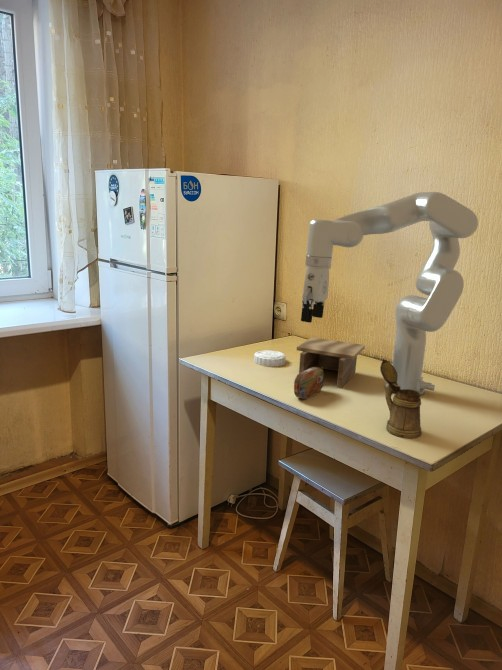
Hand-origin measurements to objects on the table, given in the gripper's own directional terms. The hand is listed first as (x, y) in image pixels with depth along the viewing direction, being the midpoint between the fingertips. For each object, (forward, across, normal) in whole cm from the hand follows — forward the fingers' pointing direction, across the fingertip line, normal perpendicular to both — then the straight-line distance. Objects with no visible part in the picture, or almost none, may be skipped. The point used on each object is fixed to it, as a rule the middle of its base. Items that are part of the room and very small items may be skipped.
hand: (311, 319), depth 154 cm
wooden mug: (+24, -8, -30) cm, 40 cm away
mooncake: (+25, +29, +25) cm, 46 cm away
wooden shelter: (+24, +24, 0) cm, 34 cm away
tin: (+25, +3, -1) cm, 25 cm away
